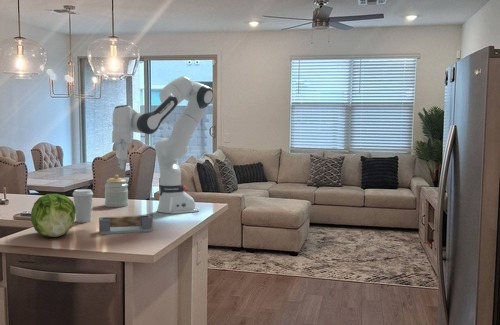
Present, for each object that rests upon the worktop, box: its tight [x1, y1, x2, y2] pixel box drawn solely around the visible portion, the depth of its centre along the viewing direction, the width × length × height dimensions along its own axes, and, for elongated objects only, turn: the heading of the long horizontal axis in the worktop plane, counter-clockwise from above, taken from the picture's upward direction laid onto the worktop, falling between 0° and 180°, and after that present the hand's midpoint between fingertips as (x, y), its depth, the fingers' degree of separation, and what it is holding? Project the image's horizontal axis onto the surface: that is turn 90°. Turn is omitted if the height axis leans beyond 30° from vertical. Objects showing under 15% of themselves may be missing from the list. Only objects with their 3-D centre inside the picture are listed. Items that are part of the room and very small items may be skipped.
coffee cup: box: [72, 188, 94, 224], centre depth 241 cm, size 10×10×15 cm
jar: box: [104, 174, 129, 208], centre depth 286 cm, size 13×13×18 cm
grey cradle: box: [98, 214, 153, 235], centre depth 222 cm, size 22×7×6 cm, turn 110°
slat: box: [108, 215, 140, 227], centre depth 236 cm, size 18×3×4 cm, turn 108°
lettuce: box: [30, 193, 76, 238], centre depth 212 cm, size 18×23×19 cm
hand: (121, 168), depth 240 cm, fingers open, 8 cm apart
